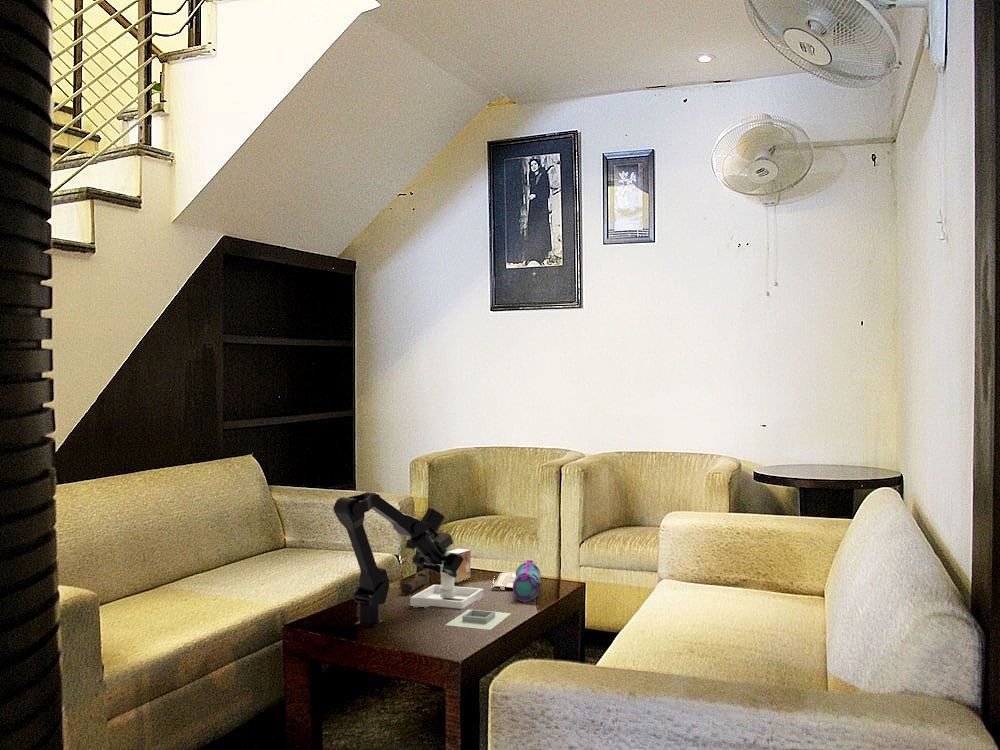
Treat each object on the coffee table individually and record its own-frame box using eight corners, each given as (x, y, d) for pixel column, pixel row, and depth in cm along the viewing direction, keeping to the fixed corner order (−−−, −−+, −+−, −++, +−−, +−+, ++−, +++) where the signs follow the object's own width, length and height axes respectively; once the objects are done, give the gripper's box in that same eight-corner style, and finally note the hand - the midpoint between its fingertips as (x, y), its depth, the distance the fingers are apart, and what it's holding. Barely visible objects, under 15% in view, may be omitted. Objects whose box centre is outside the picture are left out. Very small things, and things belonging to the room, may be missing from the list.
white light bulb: (457, 597, 274) (457, 566, 274) (443, 598, 271) (443, 567, 272) (451, 593, 278) (451, 563, 278) (438, 595, 276) (438, 564, 276)
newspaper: (494, 577, 312) (495, 570, 312) (527, 582, 311) (528, 575, 311) (485, 592, 290) (486, 584, 290) (521, 596, 288) (522, 589, 288)
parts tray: (462, 611, 263) (462, 602, 263) (410, 606, 269) (410, 597, 269) (483, 597, 280) (483, 588, 280) (433, 593, 286) (433, 584, 286)
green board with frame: (490, 633, 241) (490, 624, 241) (445, 628, 245) (445, 619, 245) (511, 616, 258) (511, 608, 258) (468, 612, 262) (468, 604, 262)
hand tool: (411, 595, 284) (411, 581, 284) (400, 594, 286) (400, 580, 286) (434, 583, 302) (434, 570, 302) (424, 582, 303) (424, 569, 303)
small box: (457, 583, 301) (457, 553, 301) (445, 581, 304) (445, 551, 304) (470, 578, 308) (470, 549, 308) (458, 576, 311) (458, 548, 311)
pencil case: (540, 603, 274) (540, 573, 274) (512, 603, 274) (512, 573, 274) (540, 587, 294) (540, 560, 294) (515, 587, 295) (515, 559, 295)
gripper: (459, 529, 266) (483, 559, 274) (419, 522, 278) (443, 551, 286) (441, 558, 260) (466, 587, 268) (400, 550, 272) (426, 578, 280)
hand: (450, 575), depth 276 cm, fingers closed on white light bulb, 5 cm apart
